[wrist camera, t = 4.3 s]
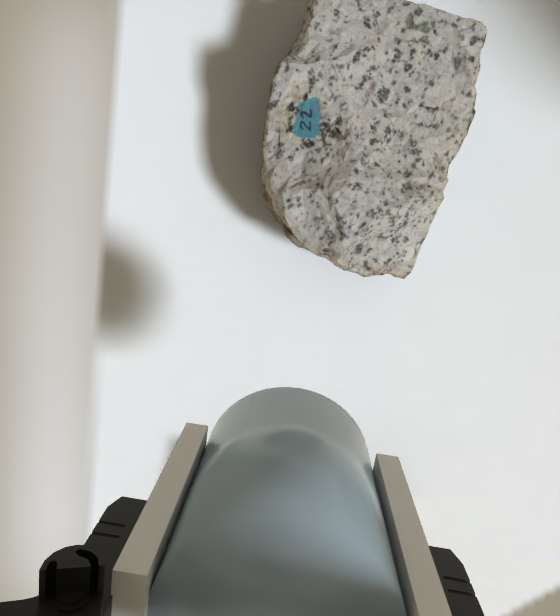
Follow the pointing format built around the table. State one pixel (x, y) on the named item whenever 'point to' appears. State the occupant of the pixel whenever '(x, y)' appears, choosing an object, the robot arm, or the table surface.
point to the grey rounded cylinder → (280, 519)
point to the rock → (368, 128)
